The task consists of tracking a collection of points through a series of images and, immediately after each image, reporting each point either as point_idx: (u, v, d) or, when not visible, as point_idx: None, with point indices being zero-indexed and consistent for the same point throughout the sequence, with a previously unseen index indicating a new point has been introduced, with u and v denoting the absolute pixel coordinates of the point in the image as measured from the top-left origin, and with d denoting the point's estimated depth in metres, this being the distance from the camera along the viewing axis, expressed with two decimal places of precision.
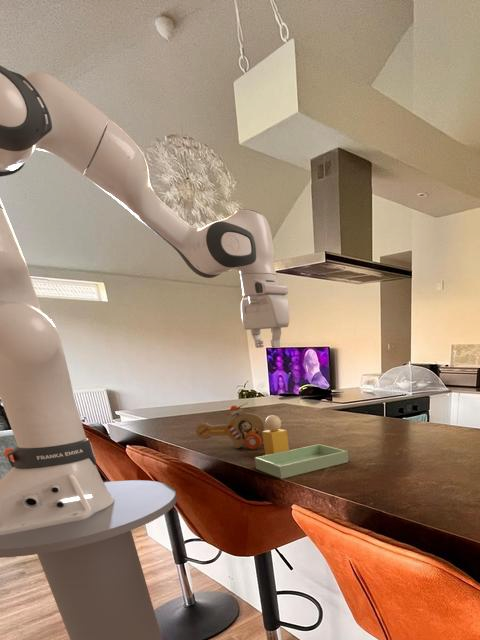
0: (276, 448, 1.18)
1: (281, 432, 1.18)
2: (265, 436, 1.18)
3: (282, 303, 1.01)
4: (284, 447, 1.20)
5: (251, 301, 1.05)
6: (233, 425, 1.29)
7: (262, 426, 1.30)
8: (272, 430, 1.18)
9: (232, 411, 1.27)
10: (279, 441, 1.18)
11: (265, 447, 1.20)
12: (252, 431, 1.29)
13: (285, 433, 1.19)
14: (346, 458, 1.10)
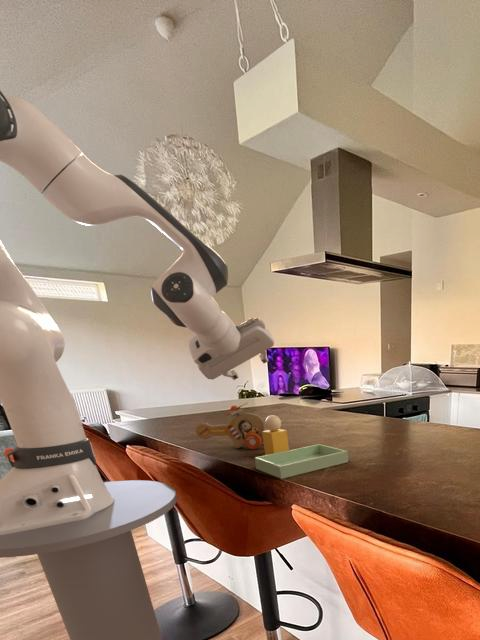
0: (276, 448, 1.18)
1: (281, 432, 1.18)
2: (265, 436, 1.18)
3: None
4: (284, 447, 1.20)
5: None
6: (233, 425, 1.29)
7: (262, 426, 1.30)
8: (272, 430, 1.18)
9: (232, 411, 1.27)
10: (279, 441, 1.18)
11: (265, 447, 1.20)
12: (252, 431, 1.29)
13: (285, 433, 1.19)
14: (346, 458, 1.10)
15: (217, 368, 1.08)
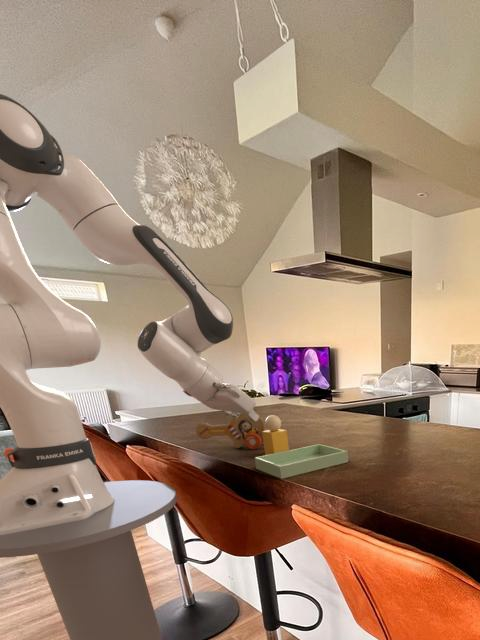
0: (276, 448, 1.18)
1: (281, 432, 1.18)
2: (265, 436, 1.18)
3: None
4: (284, 447, 1.20)
5: None
6: (233, 425, 1.29)
7: (262, 426, 1.30)
8: (272, 430, 1.18)
9: None
10: (279, 441, 1.18)
11: (265, 447, 1.20)
12: (252, 431, 1.29)
13: (285, 433, 1.19)
14: (346, 458, 1.10)
15: (210, 403, 1.11)
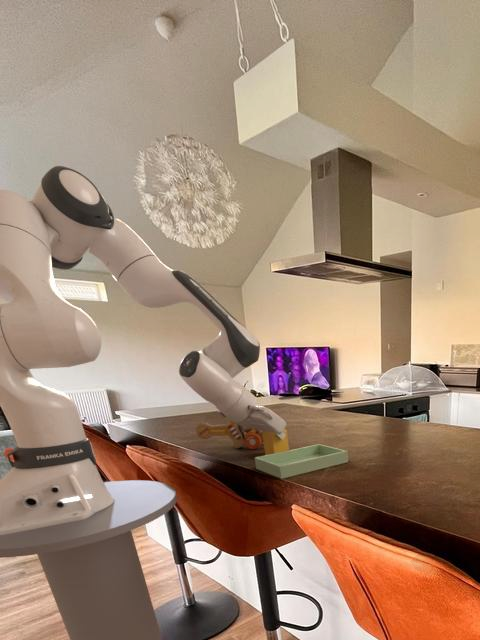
0: (277, 448, 1.18)
1: None
2: (265, 436, 1.18)
3: None
4: (284, 447, 1.20)
5: None
6: (233, 425, 1.29)
7: None
8: None
9: None
10: (279, 441, 1.18)
11: (265, 447, 1.20)
12: (252, 431, 1.29)
13: (285, 433, 1.19)
14: (346, 458, 1.10)
15: (243, 423, 1.18)
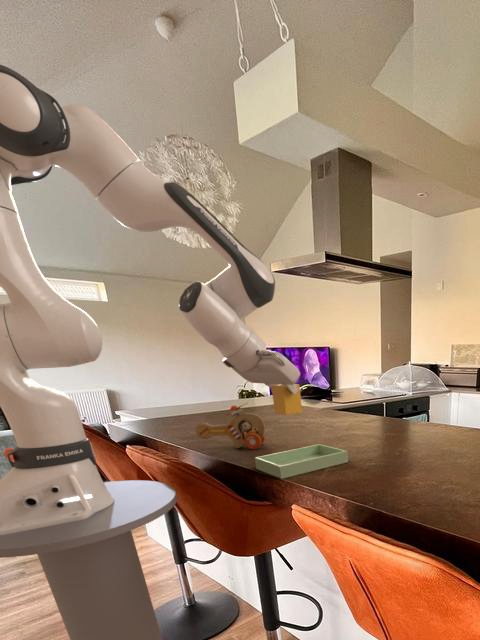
0: (288, 404, 1.05)
1: None
2: (275, 390, 1.05)
3: None
4: (297, 403, 1.07)
5: None
6: (233, 425, 1.29)
7: (262, 426, 1.30)
8: None
9: (232, 411, 1.27)
10: (291, 397, 1.05)
11: (275, 404, 1.07)
12: (252, 431, 1.29)
13: (297, 387, 1.06)
14: (346, 458, 1.10)
15: (250, 376, 1.05)
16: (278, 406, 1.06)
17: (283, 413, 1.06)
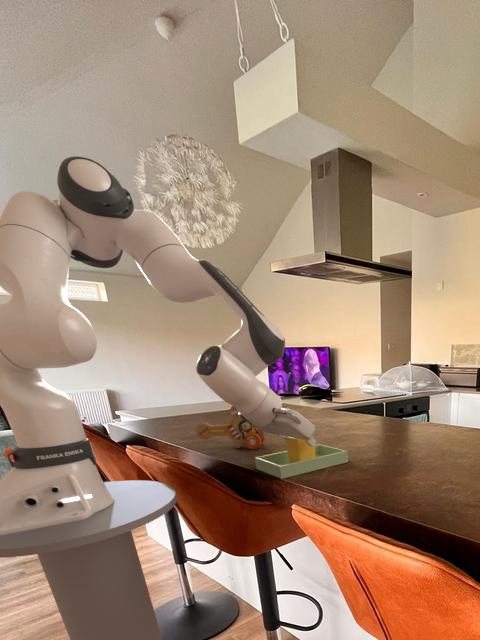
0: (302, 456, 1.06)
1: None
2: (290, 443, 1.06)
3: None
4: (311, 455, 1.08)
5: None
6: (233, 425, 1.29)
7: None
8: None
9: (232, 411, 1.27)
10: (305, 449, 1.06)
11: (289, 455, 1.08)
12: (252, 431, 1.29)
13: None
14: (346, 458, 1.10)
15: (265, 427, 1.05)
16: (292, 457, 1.07)
17: None
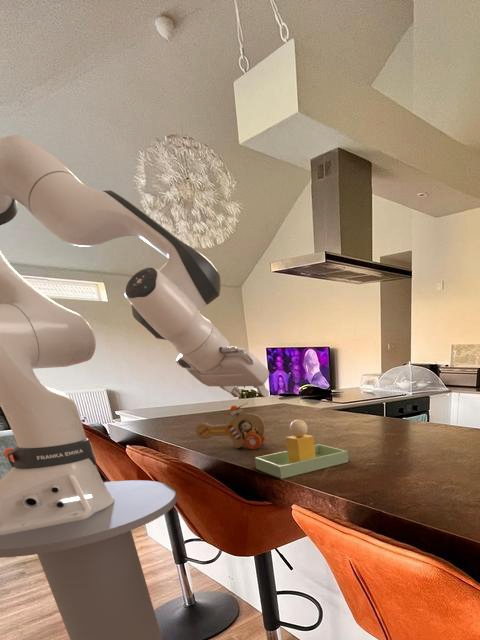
0: (302, 456, 1.06)
1: (308, 438, 1.06)
2: (290, 443, 1.06)
3: None
4: (311, 455, 1.08)
5: None
6: (233, 425, 1.29)
7: (262, 426, 1.30)
8: (298, 436, 1.05)
9: (232, 411, 1.27)
10: (305, 449, 1.06)
11: (289, 455, 1.08)
12: (252, 431, 1.29)
13: (312, 439, 1.07)
14: (346, 458, 1.10)
15: (208, 378, 0.94)
16: (292, 457, 1.07)
17: None
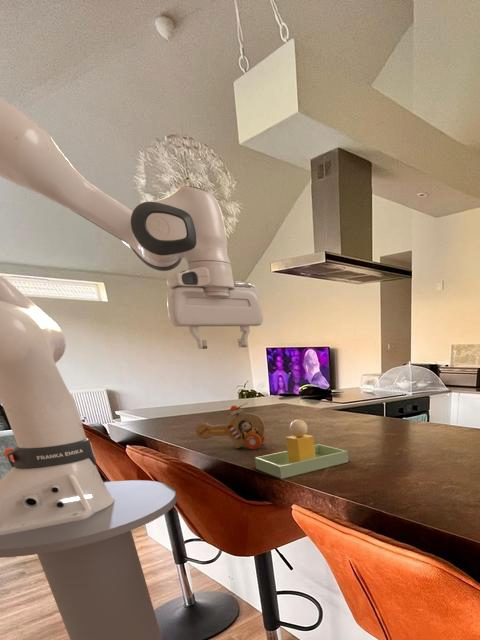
0: (302, 456, 1.06)
1: (308, 438, 1.06)
2: (290, 443, 1.06)
3: (170, 298, 0.87)
4: (311, 455, 1.08)
5: None
6: (233, 425, 1.29)
7: (262, 426, 1.30)
8: (298, 436, 1.05)
9: (232, 411, 1.27)
10: (305, 449, 1.06)
11: (289, 455, 1.08)
12: (252, 431, 1.29)
13: (312, 439, 1.07)
14: (346, 458, 1.10)
15: (193, 310, 0.89)
16: (292, 457, 1.07)
17: None
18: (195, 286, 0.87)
